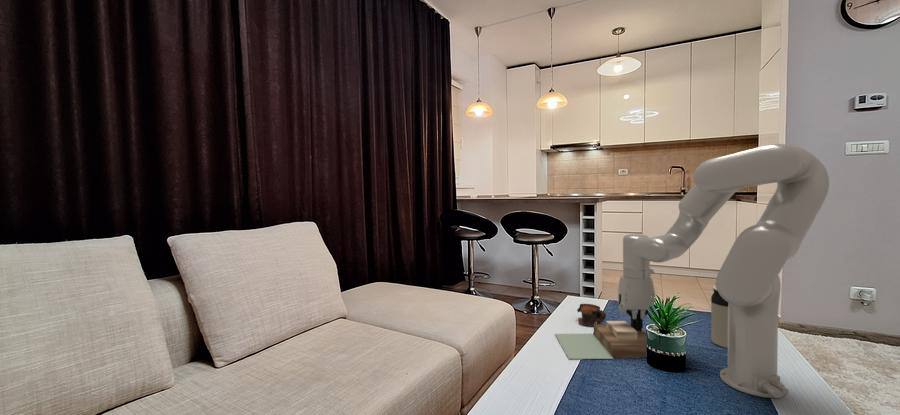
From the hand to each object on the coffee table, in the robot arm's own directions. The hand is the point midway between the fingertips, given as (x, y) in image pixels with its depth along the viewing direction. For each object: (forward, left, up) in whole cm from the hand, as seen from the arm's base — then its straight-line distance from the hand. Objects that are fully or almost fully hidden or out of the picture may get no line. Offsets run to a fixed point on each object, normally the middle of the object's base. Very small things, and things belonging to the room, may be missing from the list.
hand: (636, 329), depth 111 cm
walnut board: (0, +4, -5) cm, 7 cm away
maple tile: (0, +5, -1) cm, 5 cm away
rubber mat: (0, +17, -5) cm, 18 cm away
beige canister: (+1, -28, -5) cm, 29 cm away
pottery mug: (+19, +8, -6) cm, 22 cm away
